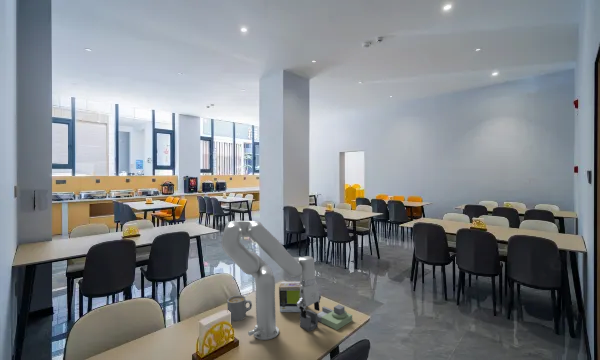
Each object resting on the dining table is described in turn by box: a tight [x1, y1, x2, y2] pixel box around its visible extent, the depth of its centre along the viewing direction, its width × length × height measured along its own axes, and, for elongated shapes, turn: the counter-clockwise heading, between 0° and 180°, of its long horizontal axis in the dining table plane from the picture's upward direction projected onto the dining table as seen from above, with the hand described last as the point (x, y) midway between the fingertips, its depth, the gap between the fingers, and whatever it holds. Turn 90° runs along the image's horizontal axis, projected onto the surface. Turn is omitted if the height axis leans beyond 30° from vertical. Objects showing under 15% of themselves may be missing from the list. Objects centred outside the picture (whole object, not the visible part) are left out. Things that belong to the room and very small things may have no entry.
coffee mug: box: [226, 294, 253, 322], centre depth 158 cm, size 13×10×10 cm
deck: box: [317, 304, 353, 331], centre depth 152 cm, size 13×18×8 cm
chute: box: [299, 308, 319, 333], centre depth 145 cm, size 6×7×7 cm
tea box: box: [278, 280, 307, 313], centre depth 166 cm, size 15×10×15 cm, turn 84°
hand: (310, 313), depth 145 cm, fingers open, 9 cm apart
